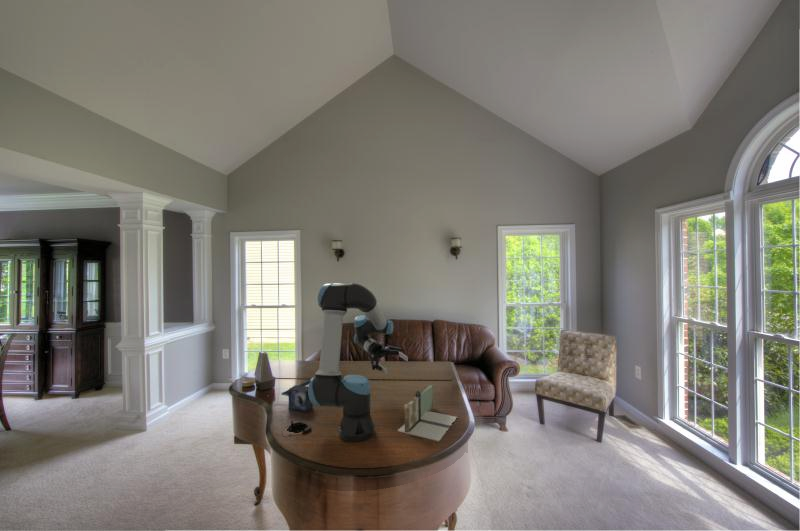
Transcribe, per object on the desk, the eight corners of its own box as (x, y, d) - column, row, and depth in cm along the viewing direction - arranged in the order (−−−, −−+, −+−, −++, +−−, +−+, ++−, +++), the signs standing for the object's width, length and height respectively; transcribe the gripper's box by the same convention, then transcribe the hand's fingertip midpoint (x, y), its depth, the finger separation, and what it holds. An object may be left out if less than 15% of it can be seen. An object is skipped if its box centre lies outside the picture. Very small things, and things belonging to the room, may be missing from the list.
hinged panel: (421, 417, 151) (421, 395, 151) (417, 416, 152) (417, 395, 152) (433, 405, 164) (433, 385, 165) (429, 404, 165) (429, 385, 166)
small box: (287, 410, 163) (287, 389, 163) (295, 405, 169) (295, 384, 170) (306, 412, 160) (306, 391, 160) (313, 407, 166) (313, 386, 167)
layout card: (439, 441, 132) (439, 440, 132) (397, 431, 140) (397, 430, 140) (457, 417, 153) (457, 416, 153) (420, 410, 162) (420, 409, 162)
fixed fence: (408, 433, 138) (408, 401, 138) (403, 432, 139) (403, 400, 140) (422, 420, 151) (421, 390, 151) (416, 419, 152) (416, 389, 152)
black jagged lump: (283, 440, 135) (283, 428, 135) (279, 430, 143) (279, 419, 143) (312, 433, 140) (312, 421, 140) (307, 424, 149) (307, 413, 149)
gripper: (391, 343, 190) (415, 359, 175) (355, 364, 176) (378, 383, 161) (390, 332, 188) (414, 348, 172) (353, 352, 174) (376, 371, 158)
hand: (397, 365), depth 166 cm, fingers open, 13 cm apart
